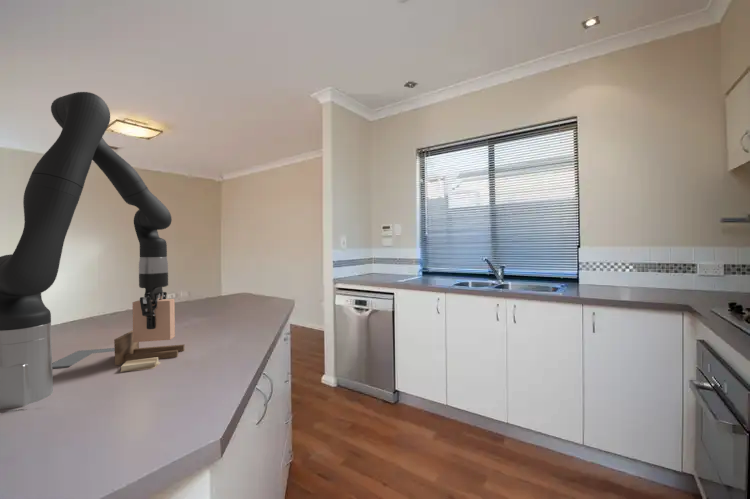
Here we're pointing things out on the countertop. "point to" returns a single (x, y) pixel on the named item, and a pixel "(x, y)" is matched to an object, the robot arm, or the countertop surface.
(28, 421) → the countertop surface
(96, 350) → the mat
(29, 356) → the robot arm
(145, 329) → the salmon pink block
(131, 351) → the rack
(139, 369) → the cream folded flat block
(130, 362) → the offcut upper
